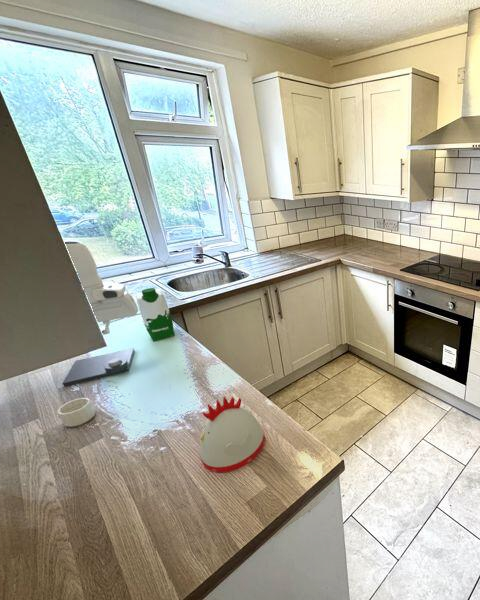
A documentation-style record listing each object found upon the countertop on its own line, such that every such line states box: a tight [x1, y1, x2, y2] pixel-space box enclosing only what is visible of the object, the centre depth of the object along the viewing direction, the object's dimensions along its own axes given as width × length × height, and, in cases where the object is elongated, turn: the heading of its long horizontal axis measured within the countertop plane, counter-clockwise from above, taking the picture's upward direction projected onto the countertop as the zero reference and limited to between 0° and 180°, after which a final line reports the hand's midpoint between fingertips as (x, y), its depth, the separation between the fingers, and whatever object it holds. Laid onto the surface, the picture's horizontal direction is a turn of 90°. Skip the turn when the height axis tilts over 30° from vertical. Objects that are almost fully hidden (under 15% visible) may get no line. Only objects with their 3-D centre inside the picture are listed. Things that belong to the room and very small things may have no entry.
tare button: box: [109, 358, 121, 367], centre depth 107 cm, size 3×3×2 cm
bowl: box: [56, 397, 97, 428], centre depth 88 cm, size 6×6×5 cm
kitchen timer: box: [199, 396, 265, 473], centre depth 77 cm, size 14×14×15 cm
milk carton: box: [135, 287, 175, 343], centre depth 126 cm, size 9×9×20 cm
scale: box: [62, 347, 136, 388], centre depth 109 cm, size 16×15×3 cm
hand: (103, 333), depth 103 cm, fingers closed
